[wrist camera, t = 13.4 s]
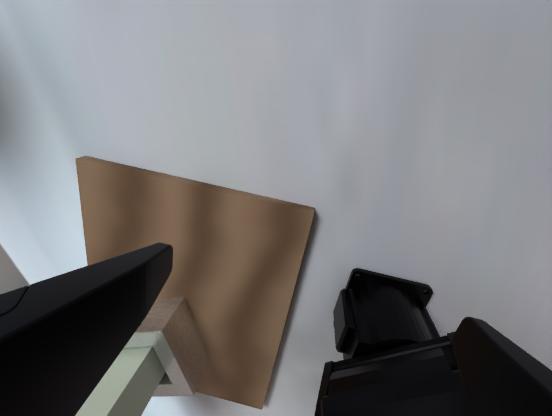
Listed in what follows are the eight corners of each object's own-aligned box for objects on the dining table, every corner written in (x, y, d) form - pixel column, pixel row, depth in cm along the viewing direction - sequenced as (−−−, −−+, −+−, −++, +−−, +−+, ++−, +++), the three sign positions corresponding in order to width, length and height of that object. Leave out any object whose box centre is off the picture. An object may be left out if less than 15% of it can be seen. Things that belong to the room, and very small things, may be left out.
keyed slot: (184, 296, 25) (161, 330, 22) (210, 356, 28) (193, 395, 24) (96, 306, 27) (62, 338, 24) (127, 360, 30) (101, 397, 26)
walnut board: (314, 207, 21) (314, 213, 20) (263, 400, 31) (262, 409, 30) (85, 155, 22) (75, 158, 21) (105, 357, 32) (98, 364, 31)
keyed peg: (171, 317, 27) (73, 465, 16) (182, 340, 28) (97, 494, 17) (124, 322, 28) (4, 463, 17) (136, 344, 29) (30, 489, 18)
